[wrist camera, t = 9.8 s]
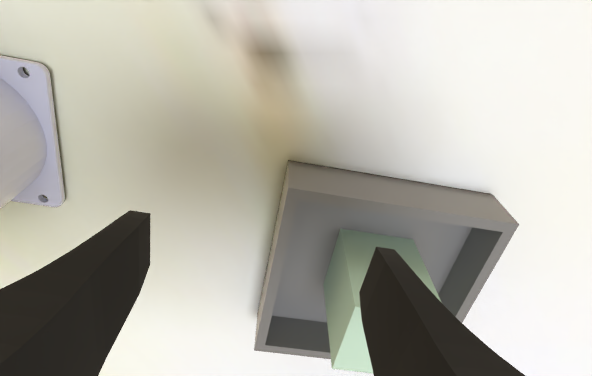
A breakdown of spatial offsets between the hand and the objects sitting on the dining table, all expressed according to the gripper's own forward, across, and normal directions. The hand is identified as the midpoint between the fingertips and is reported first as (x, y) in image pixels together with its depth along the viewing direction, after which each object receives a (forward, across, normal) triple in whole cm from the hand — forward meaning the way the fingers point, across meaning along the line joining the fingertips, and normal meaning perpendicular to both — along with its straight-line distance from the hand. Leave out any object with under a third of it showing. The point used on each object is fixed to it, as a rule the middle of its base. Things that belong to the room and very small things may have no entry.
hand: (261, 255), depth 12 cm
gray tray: (+9, -7, +7) cm, 14 cm away
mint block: (+9, -7, +7) cm, 13 cm away
